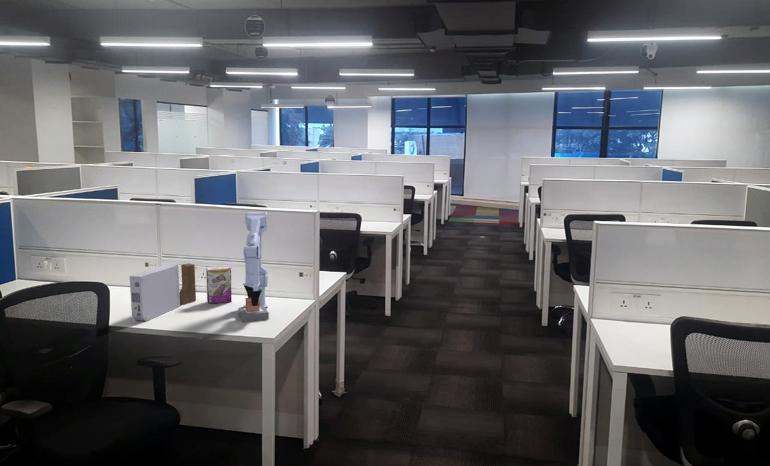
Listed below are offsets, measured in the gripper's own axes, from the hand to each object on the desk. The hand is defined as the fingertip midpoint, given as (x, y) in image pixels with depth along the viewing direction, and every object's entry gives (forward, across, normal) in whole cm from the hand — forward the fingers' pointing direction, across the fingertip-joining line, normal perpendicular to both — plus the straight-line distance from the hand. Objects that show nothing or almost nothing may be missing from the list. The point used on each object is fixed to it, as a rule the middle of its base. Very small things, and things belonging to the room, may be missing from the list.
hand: (253, 303), depth 264 cm
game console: (+6, -21, -38) cm, 44 cm away
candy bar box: (+6, -31, -10) cm, 33 cm away
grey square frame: (+6, 0, 0) cm, 6 cm away
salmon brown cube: (+3, 0, 0) cm, 3 cm away
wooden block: (+6, -36, -25) cm, 44 cm away
